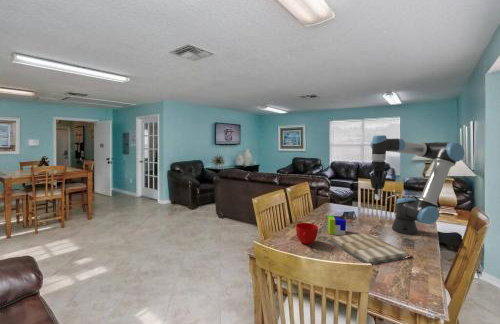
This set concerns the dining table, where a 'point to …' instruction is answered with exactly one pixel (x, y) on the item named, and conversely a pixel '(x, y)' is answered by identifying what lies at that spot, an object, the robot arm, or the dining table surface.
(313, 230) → the ceramic cup
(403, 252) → the birch plank
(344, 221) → the puzzle toy
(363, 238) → the floor section
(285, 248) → the dining table surface
